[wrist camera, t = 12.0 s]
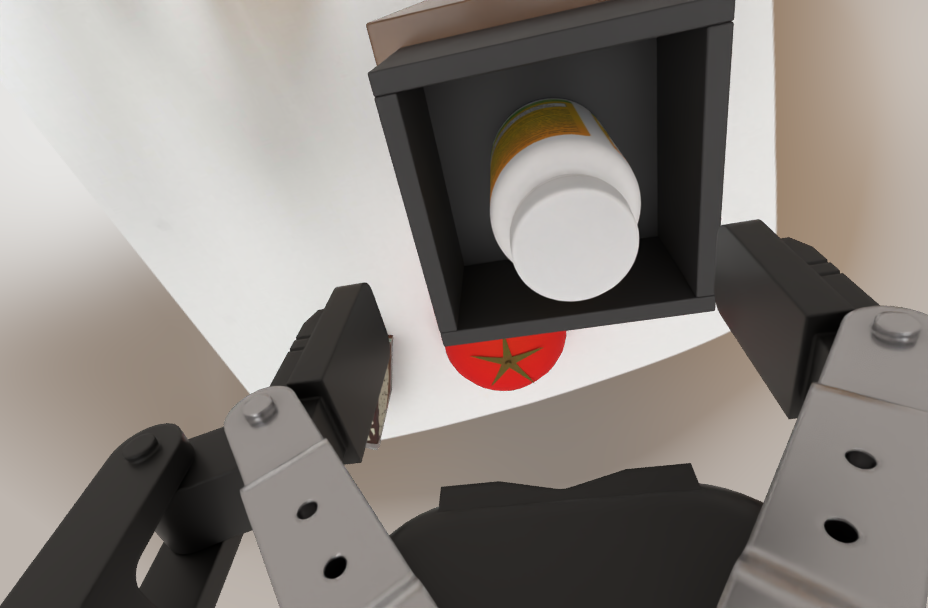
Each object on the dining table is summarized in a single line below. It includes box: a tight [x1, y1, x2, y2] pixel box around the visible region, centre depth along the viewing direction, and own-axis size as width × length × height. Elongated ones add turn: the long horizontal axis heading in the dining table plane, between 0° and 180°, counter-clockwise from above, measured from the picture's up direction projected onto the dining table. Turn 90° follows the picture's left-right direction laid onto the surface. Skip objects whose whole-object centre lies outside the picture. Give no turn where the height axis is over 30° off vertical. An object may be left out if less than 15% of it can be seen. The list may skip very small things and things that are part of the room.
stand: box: [366, 0, 609, 66], centre depth 37 cm, size 14×14×28 cm
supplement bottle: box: [490, 98, 641, 301], centre depth 20 cm, size 5×5×10 cm
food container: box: [365, 335, 393, 450], centre depth 65 cm, size 12×6×10 cm, turn 175°
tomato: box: [445, 331, 566, 391], centre depth 59 cm, size 14×13×10 cm
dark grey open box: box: [368, 0, 735, 347], centre depth 22 cm, size 12×12×7 cm
